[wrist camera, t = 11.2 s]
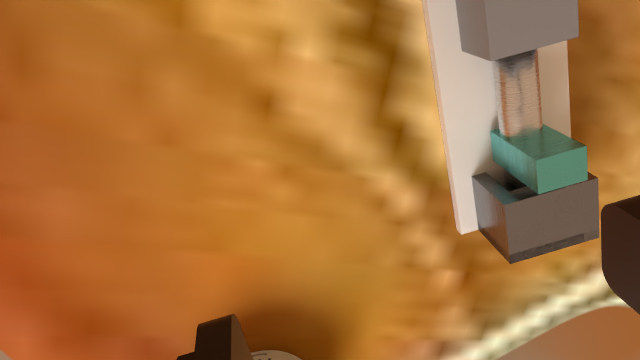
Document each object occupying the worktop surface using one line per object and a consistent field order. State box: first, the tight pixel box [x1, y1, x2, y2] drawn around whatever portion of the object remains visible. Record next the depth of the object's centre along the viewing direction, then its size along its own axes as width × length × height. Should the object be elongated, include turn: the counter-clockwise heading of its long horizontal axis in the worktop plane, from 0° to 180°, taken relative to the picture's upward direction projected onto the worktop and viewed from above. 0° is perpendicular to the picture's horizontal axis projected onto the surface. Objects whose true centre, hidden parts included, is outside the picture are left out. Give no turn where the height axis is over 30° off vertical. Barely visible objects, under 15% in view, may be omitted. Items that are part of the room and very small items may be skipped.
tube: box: [490, 48, 588, 194], centre depth 36 cm, size 14×4×7 cm, turn 14°
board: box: [422, 0, 579, 234], centre depth 37 cm, size 22×10×6 cm, turn 14°
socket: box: [471, 172, 599, 264], centre depth 40 cm, size 5×7×6 cm
